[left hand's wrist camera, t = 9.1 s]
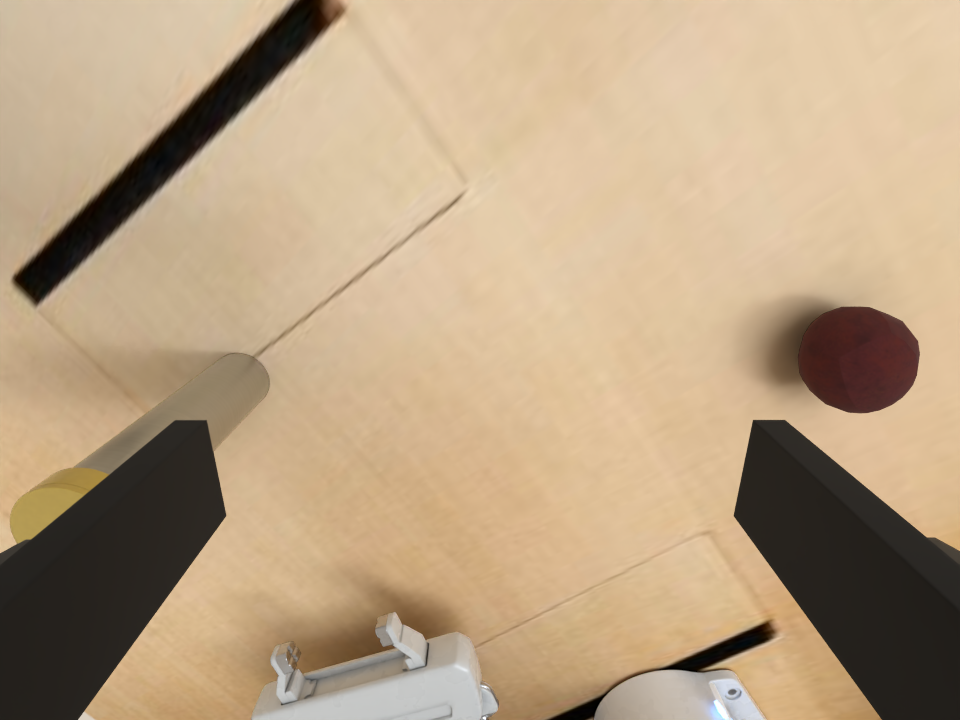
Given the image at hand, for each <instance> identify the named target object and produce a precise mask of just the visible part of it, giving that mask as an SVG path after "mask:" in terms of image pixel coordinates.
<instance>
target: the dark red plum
mask: <svg viewBox="0 0 960 720" xmlns="http://www.w3.org/2000/svg"><path fill="white" fill-rule="evenodd" d="M919 356H920V352H919V345H918V341H917V339H916V338H915V337H914V335H913V334H912V333H911V331H910V330H909V329H908V328H907V326H906V325H905V324H904V323H903V321H901V320H899V319H897V318H895V317H892V316H890V315H888V314H886V313H883V312H880V311H878V310H875V309H873V308H870V307H840V308H837V309H834V310H832V311H829V312H826V313H824V314H822V315H821V316H819V317H818V318H817V319H816V320H815V321H813V322H812V323H811V324H810V326H809V328H808V329H807V331H806V332H805V334H804V336H803V339H802V343H801V346H800V350H799V354H798V362H799V373H800V375H801V377H802V379H803V381H804V382H805V384H806V385H807V387H808V388H809V390H810V391H811V392H812V393H813V394H814V395H816V396H817V397H818V398H819V399H820V400H821V401H823V402H824V403H825V404H827V405H830V406H832V407H835V408H838V409H840V410H843V411H846V412H850V413H869V412H874V411H878V410H881V409H884V408H886V407H888V406H890V405H892V404H894V403H895V402H897V401H898V400H899V399H901V398H902V397H903V396H904V395H905V394H906V393H907V392H908V391H909V390H910V388H911V387H912V385H913V383H914V381H915V378H916V376H917V370H918V363H919Z"/></svg>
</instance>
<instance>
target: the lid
mask: <svg viewBox="0 0 960 720" xmlns="http://www.w3.org/2000/svg"><path fill="white" fill-rule="evenodd" d="M108 475H109V474H107V473H104V472H102V471H99V470H95V469H90V468H68V469H64V470H61V471H58V472H56V473H54V474H52V475H51V476H49V477H48V478H47V479H45V480H44V481H42V482H41V483H40V484H38V485H37V486H35V487H34V488H33V489H31V490H30V491H29V492H27V493H26V494H24V495H23V496H22V497H21V498H20V499H18V501H17V502H16V503H15V505H14V507H13V508H12V511H11V515H10V527H11V532H12V534H13V537H14V539H15V541H16V543H17V544H18V543H20V542H22V541H24V540H26V539H32V538H33V537H35V536H36V535H37V534H38V533H39V532H41V531H42V530H43V529H44V528H45V527H47V526H48V525H49V524H50V523H52V522H53V521H54V520H55V519H56V518H58V517H59V516H60V515H61V514H62V513H64V512H65V511H66V510H67V509H68V508H70V507H71V506H72V505H73V504H74V503H76V502H77V501H78V500H79V499H80V498H82V497H83V496H84V495H85V494H86V493H88V492H89V491H90V490H91V489H93V488H94V487H95V486H96V485H97V484H99V483H100V482H101V481H102V480H103V479H105V478H106V477H107V476H108Z"/></svg>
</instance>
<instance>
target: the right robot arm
mask: <svg viewBox="0 0 960 720" xmlns="http://www.w3.org/2000/svg"><path fill="white" fill-rule="evenodd" d="M377 622H378V623H377V624H376V627H375V632H376V635H377V637H378V638H380V642H381V644H382V646H383V647H385V646H389V645H393V646H394V647H396V648H394V649H390V650H387V651H383V652H379V653H376V654H372V655H369V656H365V657H361V658H358V659H354V660H350V661H347V662H343V663H339V664H336V665H332V666H329V667H325V668H321V669H318V670H314V671H310V672H307V673H303V674H302V673H301V671H300V670H299V669H296V670H295V668H296V666H297V663H296V662H297V661H298V660H299V658H300V655H301V652H300V650H299V649H298V648H297V647H295V643H294V642H293V641H290V642H287V643H283V644H280V645H276V646H275V648H274V650H273V653H272V655H271V659H270V662H271V665H272V666H273V668H274V669H275V671H276V672H277V674H278V678H277V681H274V682H270V683H268V684H266V685H265V686H264V688H263V689H262V691H261V694H260V696H259V698H258V700H257V702H256V705H255V707H254V710H253V713H252V716H251V720H488V717H490V716H492V715H494V714H495V713H496V711H497V710H498V707H499V702H498V699H497V697H496V695H495V693H494V691H493V689H492V687H491V686H490V685H489V684H488V683H486V682H484V681H482V673H481V668H480V664H479V660H478V657H477V654H476V651H475V648H474V646H473V643H472V641H471V639H470V638H469V637H468V636H466V635H464V634H462V633H460V632H452V633H448V634H445V635H441V636H438V637H434V638H430V639H427V640H425V638H424V636H423V634H421V633H419V632H417V631H415V630H414V629H412V628H410V627H408V626H406V625H402V623H401V621H400V619H399V617H398V615H397V614H396V612H392V613H389V614H386V615H382V616H379V617H378V618H377ZM594 720H767V719H766V718H765V716H764V715H763V713H762V712H761V710H760V709H759V707H758V706H757V704H756V703H755V701H754V700H753V698H752V697H751V696H750V694H749V693H748V691H747V690H746V688H745V687H744V685H743V684H742V682H741V681H740V679H739V678H738V676H737V675H736V674H735V673H734V672H733V671H730V670H717V671H710V672H704V673H698V672H690V671H683V670H660V671H653V672H648V673H644V674H641V675H638V676H635V677H633V678H630V679H628V680H626V681H624V682H623V683H621V684H619V685H618V686H616V687H615V688H614V689H612V690H611V691H610V692H609V693H608V694H607V695H606V696H605V697H604V698H603V700H602V701H601V702H600V704H599V706H598V708H597V710H596V713H595V716H594Z"/></svg>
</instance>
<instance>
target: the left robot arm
mask: <svg viewBox="0 0 960 720" xmlns="http://www.w3.org/2000/svg"><path fill="white" fill-rule="evenodd" d="M225 517H226V512H225V507H224V502H223V497H222V492H221V487H220V482H219V477H218V472H217V467H216V462H215V458H214V453H213V448H212V443H211V438H210V433H209V428H208V423H207V420H175V421H173V422H172V423H171V424H170V425H169V426H167V427H166V428H165V429H164V430H162V431H161V432H160V433H159V434H158V435H156V436H155V437H154V438H153V439H152V440H150V441H149V442H148V443H147V444H146V445H144V446H143V447H142V448H141V449H140V450H138V451H137V452H136V453H135V454H134V455H132V456H131V457H130V458H129V459H128V460H126V461H125V462H124V463H123V464H121V465H120V466H119V467H118V468H117V469H115V470H114V471H113V472H112V473H111V474H109V475H108V476H107V477H106V478H105V479H103V480H102V481H101V482H100V483H99V484H97V485H96V486H95V487H94V488H93V489H91V490H90V491H89V492H88V493H86V494H85V495H84V496H83V497H82V498H80V499H79V500H78V501H77V502H76V503H74V504H73V505H72V506H71V507H70V508H68V509H67V510H66V511H65V512H64V513H62V514H61V515H60V516H59V517H58V518H56V519H55V520H54V521H53V522H52V523H50V524H49V525H48V526H47V527H45V528H44V529H43V530H42V531H41V532H39V533H38V534H37V535H36V536H35V537H33V538H32V539H26V540H24V541H22V542H20V543H18V544H17V545H15V546H13V547H11V548H9V549H7V550H6V551H4V552H2V553H0V720H78V719H79V717H80V716H81V715H82V713H83V712H84V711H85V709H86V708H87V706H88V705H89V704H90V702H91V701H92V700H93V698H94V697H95V695H96V694H97V693H98V691H99V690H100V689H101V687H102V686H103V684H104V683H105V682H106V680H107V679H108V678H109V676H110V675H111V673H112V672H113V671H114V669H115V668H116V667H117V665H118V664H119V662H120V661H121V660H122V658H123V657H124V656H125V654H126V653H127V652H128V650H129V649H130V647H131V646H132V645H133V643H134V642H135V641H136V639H137V638H138V636H139V635H140V634H141V632H142V631H143V630H144V628H145V627H146V625H147V624H148V623H149V621H150V620H151V619H152V617H153V616H154V614H155V613H156V612H157V610H158V609H159V608H160V606H161V605H162V603H163V602H164V601H165V599H166V598H167V597H168V595H169V594H170V592H171V591H172V590H173V588H174V587H175V586H176V584H177V583H178V581H179V580H180V579H181V577H182V576H183V575H184V573H185V572H186V570H187V569H188V568H189V566H190V565H191V564H192V562H193V561H194V559H195V558H196V557H197V555H198V554H199V553H200V551H201V550H202V548H203V547H204V546H205V544H206V543H207V542H208V540H209V539H210V537H211V536H212V535H213V533H214V532H215V531H216V529H217V528H218V527H219V525H220V524H221V522H222V521H223V520H224V518H225ZM734 517H735V518H736V520H737V521H738V522H739V524H740V525H741V527H742V528H743V529H744V531H745V532H746V533H747V535H748V536H749V537H750V539H751V540H752V542H753V543H754V544H755V546H756V547H757V548H758V550H759V551H760V553H761V554H762V555H763V557H764V558H765V559H766V561H767V562H768V564H769V565H770V566H771V568H772V569H773V570H774V572H775V573H776V575H777V576H778V577H779V579H780V580H781V581H782V583H783V584H784V586H785V587H786V588H787V590H788V591H789V592H790V594H791V595H792V597H793V598H794V599H795V601H796V602H797V603H798V605H799V606H800V608H801V609H802V610H803V612H804V613H805V614H806V616H807V617H808V619H809V620H810V621H811V623H812V624H813V625H814V627H815V628H816V630H817V631H818V632H819V634H820V635H821V636H822V638H823V639H824V641H825V642H826V643H827V645H828V646H829V647H830V649H831V650H832V652H833V653H834V654H835V656H836V657H837V658H838V660H839V661H840V663H841V664H842V665H843V667H844V668H845V669H846V671H847V672H848V673H849V675H850V676H851V678H852V679H853V680H854V682H855V683H856V684H857V686H858V687H859V689H860V690H861V691H862V693H863V694H864V695H865V697H866V698H867V700H868V701H869V702H870V704H871V705H872V706H873V708H874V709H875V711H876V712H877V713H878V715H879V716H880V717H881V719H882V720H960V551H958V550H957V549H955V548H953V547H951V546H949V545H948V544H946V543H944V542H942V541H940V540H938V539H937V538H927V537H925V536H924V535H923V534H922V533H921V532H919V531H918V530H917V529H916V528H915V527H913V526H912V525H911V524H910V523H908V522H907V521H906V520H905V519H904V518H902V517H901V516H900V515H899V514H898V513H896V512H895V511H894V510H893V509H892V508H890V507H889V506H888V505H887V504H886V503H884V502H883V501H882V500H881V499H880V498H878V497H877V496H876V495H875V494H874V493H872V492H871V491H870V490H869V489H867V488H866V487H865V486H864V485H863V484H861V483H860V482H859V481H858V480H857V479H855V478H854V477H853V476H852V475H851V474H849V473H848V472H847V471H846V470H845V469H843V468H842V467H841V466H840V465H839V464H837V463H836V462H835V461H834V460H832V459H831V458H830V457H829V456H828V455H826V454H825V453H824V452H823V451H822V450H820V449H819V448H818V447H817V446H816V445H814V444H813V443H812V442H811V441H810V440H808V439H807V438H806V437H805V436H804V435H802V434H801V433H800V432H799V431H798V430H796V429H795V428H794V427H793V426H791V425H790V424H789V423H788V422H787V421H785V420H753V423H752V428H751V433H750V438H749V443H748V448H747V453H746V458H745V462H744V467H743V472H742V477H741V482H740V487H739V492H738V497H737V502H736V507H735V512H734Z"/></svg>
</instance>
